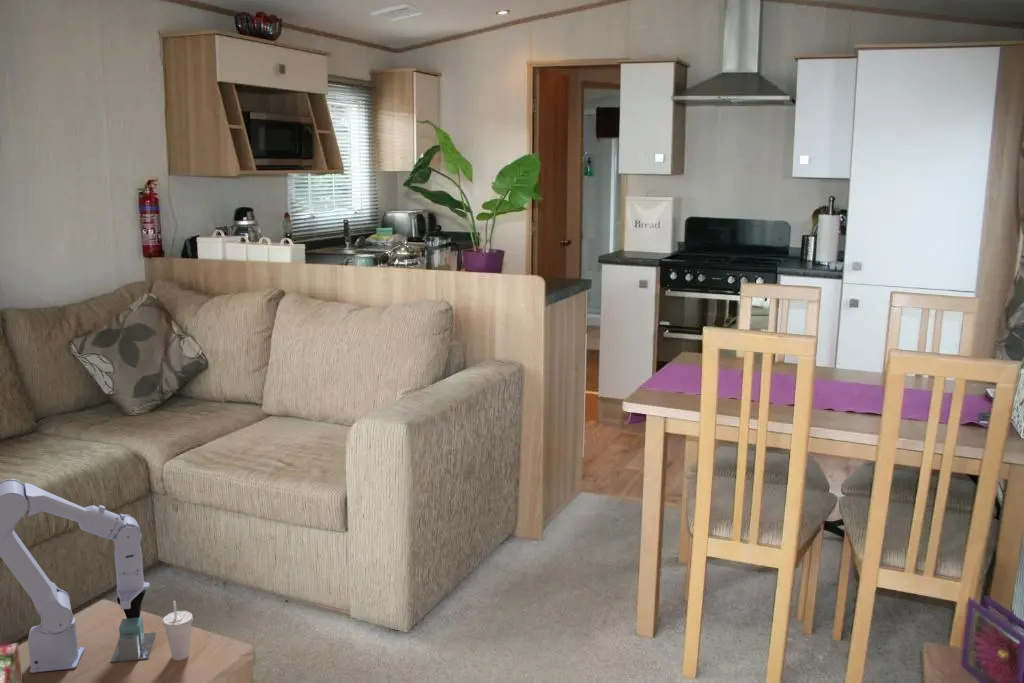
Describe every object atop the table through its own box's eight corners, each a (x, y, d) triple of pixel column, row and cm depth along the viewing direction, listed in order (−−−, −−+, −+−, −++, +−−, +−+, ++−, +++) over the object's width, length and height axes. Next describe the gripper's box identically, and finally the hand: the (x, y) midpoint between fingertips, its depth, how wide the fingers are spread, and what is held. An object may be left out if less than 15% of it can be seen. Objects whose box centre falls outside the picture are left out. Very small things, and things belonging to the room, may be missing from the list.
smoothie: (159, 658, 203) (155, 603, 200) (181, 645, 208) (177, 590, 205) (179, 666, 200) (175, 610, 197) (201, 652, 206) (197, 597, 202)
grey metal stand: (110, 663, 201) (108, 641, 200) (120, 636, 212) (118, 615, 210) (148, 659, 203) (146, 637, 202) (156, 633, 213) (154, 612, 212)
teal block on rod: (120, 647, 204) (118, 628, 202) (124, 638, 207) (122, 618, 206) (141, 645, 204) (139, 626, 203) (144, 636, 208) (142, 617, 207)
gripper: (142, 581, 199) (146, 636, 202) (153, 553, 213) (157, 604, 216) (108, 584, 197) (113, 639, 200) (121, 555, 211) (126, 607, 214)
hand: (133, 621), depth 208 cm, fingers closed
